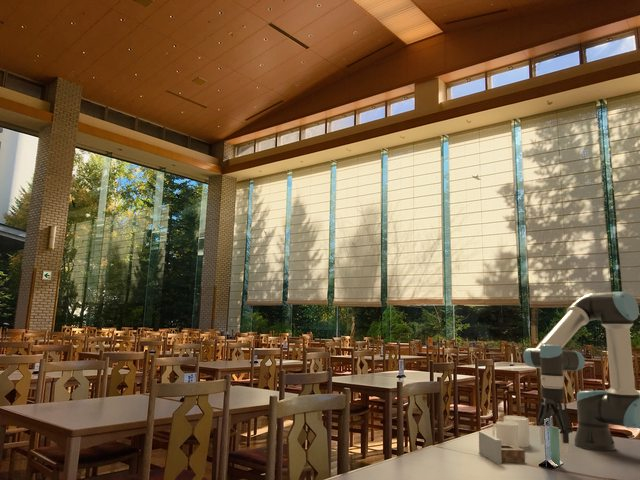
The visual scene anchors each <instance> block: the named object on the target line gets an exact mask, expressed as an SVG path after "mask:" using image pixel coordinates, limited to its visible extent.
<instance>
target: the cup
mask: <svg viewBox="0 0 640 480" xmlns="http://www.w3.org/2000/svg"><path fill="white" fill-rule="evenodd" d="M492 436H494V437H496V438H498V439H500V440H501V444H513V445H515V446H517V447H518V424H517V423H513V422H504V420H503V421H496V422H495V423H494V424H493V426H492Z"/></svg>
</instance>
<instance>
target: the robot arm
mask: <svg viewBox="0 0 640 480" xmlns="http://www.w3.org/2000/svg"><path fill="white" fill-rule="evenodd" d="M639 314H640V308H639V304H638V302H637V300H636V298H635V297H634V296H633V295H632V294H631V293H630V292H626V291H611V292H610V291H605V292H604V291H602V292H591V293H587V294H585V295H583V296H581V297H580V298H578V299H577V300H575V301H574V302H573V303H572V304H571V305H570V306H569V307H567V309H566V312H565V315H564V316H563V317H562V318H561V319H560V320H559V321H558V322H557V323H556V325H555V326H554V327H552V329H551V330H550V331H549V332H548V333H547V334H546V335H545V336H544V337H543V339H541V341H540V342H539V343H538V344H537V345H536V346H535V347H529V348H526V349H524V352H523V355H522V357H523V361H524V363H525V365H526V366H527V367H532V368H535V369H540V381H541V382H540V383H541V386H542V387H541V389H540V390H541V397H542V398H540V400H539V401H540V405H539V409H538V413H537V418H536V422H537V423H539V425H540V444H541V445H546V444H545V440H544V427H545V428H546V429H549V430H550V427H549V425H547V423H548V424H549V421H547V422H546V426H545V425H544V426H543V424H544V419H546V418H549V420H550V418H551V416H553V417H555V418H554V419H555V420H556V422H557V425H558V428H559V429H560V431H559V448H560V454H569V453H570V437H569V435H570V433H571V434H572V433H573V427H572V424H571V419H570V416H569V413H568V408H567V403H564V402H563V403H562V402H561V401H562V400H564V399H565V390H564V389H563V388H564V387H565V386H564V385H565V384H564V371H566V372H567V371H570V372H575V371H580V370H582V369H583V368H584V366H585V361H586V360H585V357H584V355H583V354H582V353H581V352H580V351H577V350H573V349H571V350H567V349H566V350H564V349H563V348H564V347H565V346H566V344H567V343H568V342H569V341H570V340H571V339H572V337H573V336H574V335H575V334H576V333H577V332H578V331H579V329H580V328H581V327H583V326H586V325H587V324H588V323H589V322H591V321H600V324H601V326H602V327H603V328H605V336H606V347H607V348H606V349H607V358H608V369H609V381H610V382H609V385H610V387H609V388H608V389H607V390H579V391H578V392H577V393H576V402H575V403H576V410H577V429H576V432H575V435H574V441H573V443H574V445H575V446H577V447H579V448H582V449H587V450H593V451H602V452H606V451H607V452H608V451H610V452H611V451H615V450H616V445H615V441H614V438H613V436H612V434H611V431H610V425H614V426H620V427H625V428H627V429H630V428H632V429H640V392H639V391H638V390H637V389H636V387H635V386H636V385H635V375H634V366H633V365H634V363H633V362H634V361H633V352H632V351H633V350H632V342H631V332H630V331H631V328H632V327H633V326H634V321H635V320H637V319H638V317H639Z"/></svg>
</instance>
